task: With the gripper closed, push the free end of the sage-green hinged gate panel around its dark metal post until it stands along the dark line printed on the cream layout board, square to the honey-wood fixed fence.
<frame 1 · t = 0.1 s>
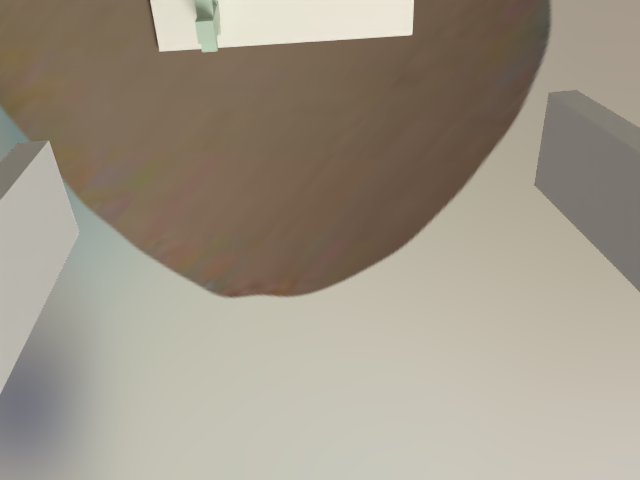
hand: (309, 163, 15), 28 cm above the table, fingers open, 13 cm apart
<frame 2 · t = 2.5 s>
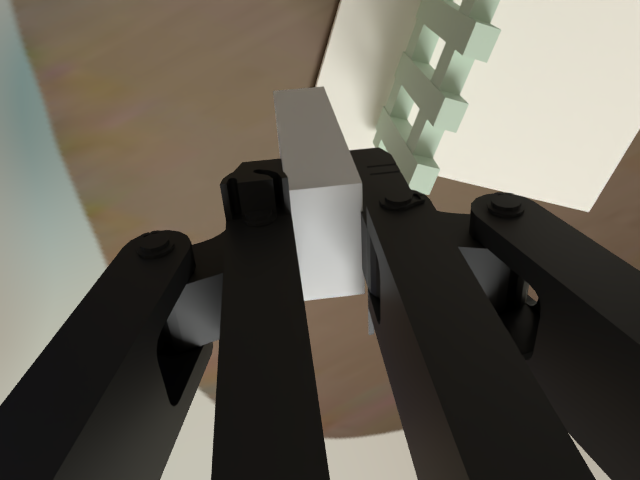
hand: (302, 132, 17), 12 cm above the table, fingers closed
fence gate: (439, 56, 24), point 4 cm above the table, hinge at 0.0°
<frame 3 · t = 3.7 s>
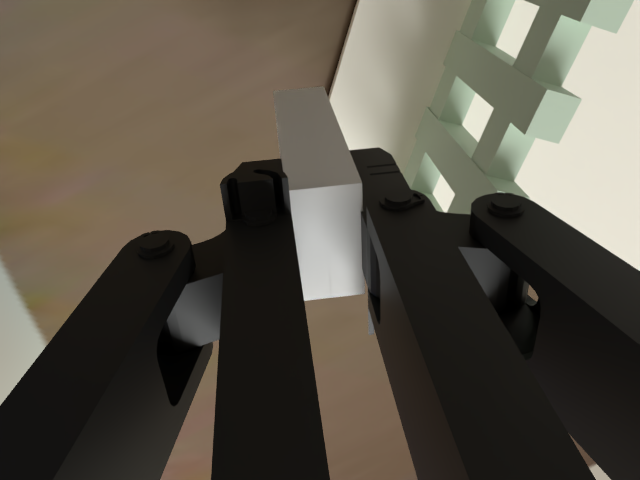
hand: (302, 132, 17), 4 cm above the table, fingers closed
fence gate: (480, 121, 18), point 4 cm above the table, hinge at 0.0°
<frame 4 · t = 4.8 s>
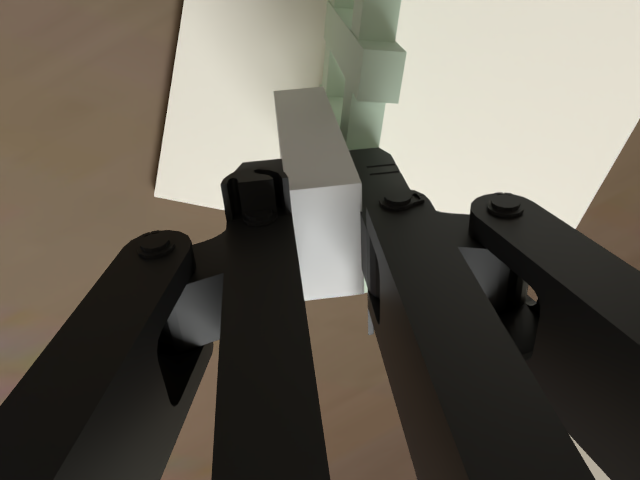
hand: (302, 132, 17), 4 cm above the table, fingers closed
fence gate: (351, 92, 17), point 4 cm above the table, hinge at 11.0°, touching gripper
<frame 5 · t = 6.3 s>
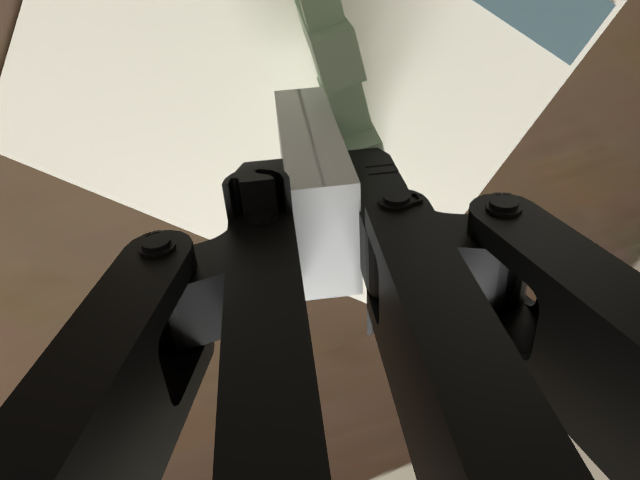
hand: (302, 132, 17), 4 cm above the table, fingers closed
fence gate: (336, 78, 17), point 4 cm above the table, hinge at 46.0°, touching gripper
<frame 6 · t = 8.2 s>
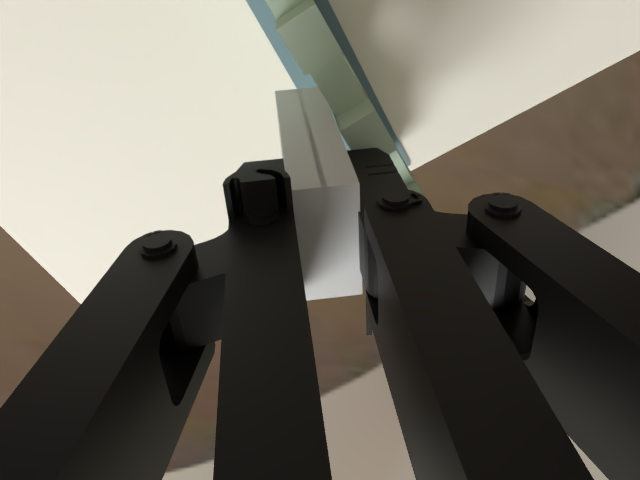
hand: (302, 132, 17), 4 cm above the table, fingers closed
fence gate: (325, 57, 16), point 4 cm above the table, hinge at 92.4°, touching gripper
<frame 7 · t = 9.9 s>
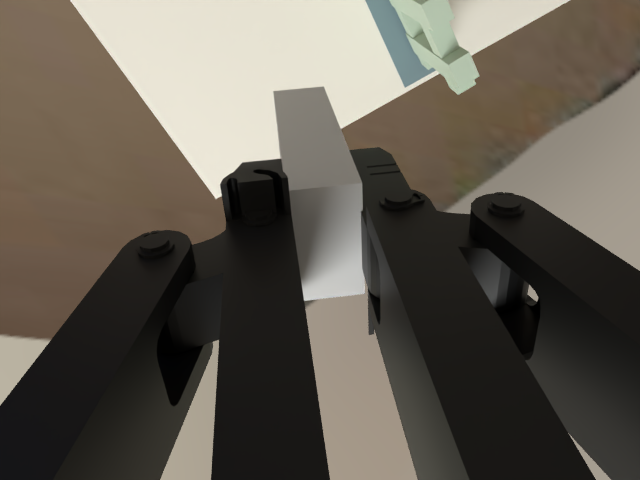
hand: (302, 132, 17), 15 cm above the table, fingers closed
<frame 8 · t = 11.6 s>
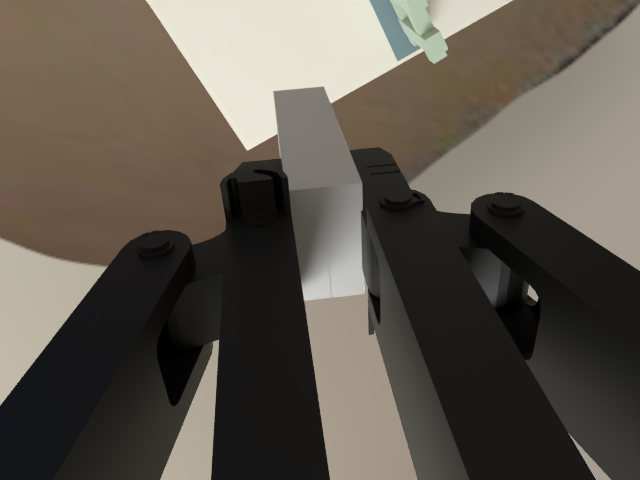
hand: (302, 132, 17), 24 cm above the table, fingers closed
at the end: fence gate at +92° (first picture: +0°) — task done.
